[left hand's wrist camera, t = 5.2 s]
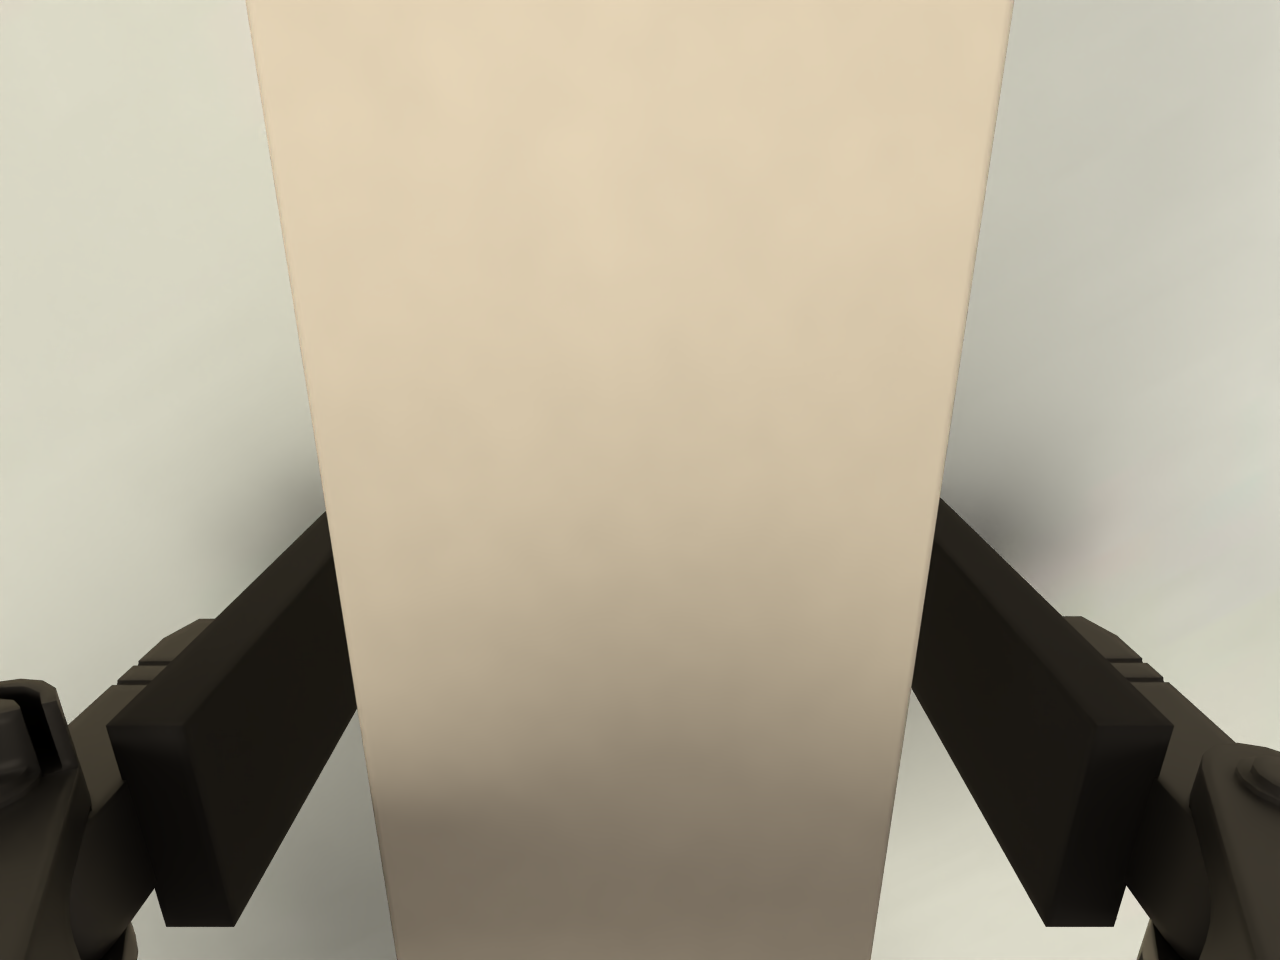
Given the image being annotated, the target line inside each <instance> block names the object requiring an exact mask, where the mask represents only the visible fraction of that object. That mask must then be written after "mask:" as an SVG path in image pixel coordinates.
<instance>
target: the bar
mask: <svg viewBox="0 0 1280 960" xmlns="http://www.w3.org/2000/svg"><path fill="white" fill-rule="evenodd" d="M1013 5H1014V0H246V6H247V13H248V19H249V25H250V32H251V38H252V44H253V51H254V57H255V63H256V70H257V76H258V82H259V89H260V95H261V101H262V107H263V114H264V120H265V126H266V133H267V139H268V145H269V152H270V158H271V164H272V171H273V177H274V183H275V190H276V196H277V202H278V209H279V215H280V221H281V228H282V234H283V240H284V247H285V253H286V259H287V266H288V272H289V278H290V285H291V291H292V297H293V304H294V310H295V316H296V323H297V329H298V335H299V342H300V348H301V354H302V361H303V367H304V373H305V380H306V386H307V392H308V399H309V405H310V411H311V418H312V424H313V430H314V437H315V443H316V449H317V456H318V462H319V468H320V475H321V481H322V487H323V494H324V500H325V506H326V513H327V519H328V525H329V532H330V538H331V544H332V551H333V557H334V563H335V570H336V576H337V582H338V589H339V595H340V601H341V608H342V614H343V620H344V627H345V633H346V639H347V646H348V652H349V658H350V665H351V671H352V677H353V684H354V690H355V696H356V703H357V709H358V715H359V722H360V728H361V734H362V741H363V747H364V753H365V760H366V766H367V772H368V779H369V785H370V791H371V798H372V804H373V810H374V817H375V823H376V829H377V836H378V842H379V848H380V855H381V861H382V867H383V874H384V880H385V886H386V892H387V899H388V905H389V911H390V918H391V924H392V930H393V937H394V943H395V949H396V956H397V960H870V959H871V953H872V946H873V939H874V933H875V926H876V919H877V913H878V906H879V899H880V893H881V886H882V879H883V873H884V866H885V859H886V852H887V846H888V839H889V832H890V826H891V819H892V812H893V806H894V799H895V792H896V786H897V779H898V772H899V766H900V759H901V752H902V746H903V739H904V732H905V726H906V719H907V712H908V706H909V699H910V692H911V686H912V679H913V672H914V666H915V659H916V652H917V646H918V639H919V632H920V625H921V619H922V612H923V605H924V599H925V592H926V585H927V579H928V572H929V565H930V559H931V552H932V545H933V539H934V532H935V525H936V519H937V512H938V505H939V499H940V492H941V485H942V479H943V472H944V465H945V459H946V452H947V445H948V439H949V432H950V425H951V419H952V412H953V405H954V399H955V392H956V385H957V378H958V372H959V365H960V358H961V352H962V345H963V338H964V332H965V325H966V318H967V312H968V305H969V298H970V292H971V285H972V278H973V272H974V265H975V258H976V252H977V245H978V238H979V232H980V225H981V218H982V212H983V205H984V198H985V192H986V185H987V178H988V172H989V165H990V158H991V152H992V145H993V138H994V131H995V125H996V118H997V111H998V105H999V98H1000V91H1001V85H1002V78H1003V71H1004V65H1005V58H1006V51H1007V45H1008V38H1009V31H1010V25H1011V18H1012V11H1013Z"/></svg>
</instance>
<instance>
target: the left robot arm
mask: <svg viewBox="0 0 1280 960" xmlns="http://www.w3.org/2000/svg"><path fill="white" fill-rule="evenodd" d="M911 688H912V690H913V692H914V693H915V695H916V697H917V699H918V700H919V702H920V704H921V706H922V708H923V709H924V711H925V713H926V715H927V716H928V718H929V720H930V722H931V724H932V725H933V727H934V729H935V731H936V732H937V734H938V736H939V738H940V740H941V741H942V743H943V745H944V747H945V748H946V750H947V752H948V754H949V756H950V757H951V759H952V761H953V763H954V764H955V766H956V768H957V770H958V772H959V773H960V775H961V777H962V779H963V780H964V782H965V784H966V786H967V788H968V789H969V791H970V793H971V795H972V796H973V798H974V800H975V802H976V804H977V805H978V807H979V809H980V811H981V812H982V814H983V816H984V818H985V820H986V821H987V823H988V825H989V827H990V828H991V830H992V832H993V834H994V836H995V837H996V839H997V841H998V843H999V844H1000V846H1001V848H1002V850H1003V852H1004V853H1005V855H1006V857H1007V859H1008V860H1009V862H1010V864H1011V866H1012V867H1013V869H1014V871H1015V873H1016V875H1017V876H1018V878H1019V880H1020V882H1021V883H1022V885H1023V887H1024V889H1025V891H1026V892H1027V894H1028V896H1029V898H1030V899H1031V901H1032V903H1033V905H1034V907H1035V908H1036V910H1037V912H1038V914H1039V915H1040V917H1041V919H1042V921H1043V923H1044V924H1045V926H1046V927H1114V924H1115V921H1116V918H1117V914H1118V911H1119V908H1120V904H1121V901H1122V898H1123V894H1124V891H1125V888H1126V885H1127V887H1128V888H1129V890H1130V891H1131V892H1132V894H1133V895H1134V897H1135V898H1136V899H1137V901H1138V902H1139V904H1140V905H1141V906H1142V908H1143V909H1144V911H1145V912H1146V913H1147V915H1148V916H1149V918H1150V920H1149V923H1148V926H1147V929H1146V932H1145V935H1144V938H1143V941H1142V945H1141V948H1140V951H1139V954H1138V957H1137V960H1280V752H1279V751H1276V750H1273V749H1270V748H1267V747H1261V746H1255V745H1248V744H1242V743H1235V742H1234V741H1233V740H1232V739H1231V738H1230V737H1229V736H1228V735H1227V734H1225V733H1224V732H1223V731H1222V730H1221V729H1220V728H1219V727H1218V726H1217V725H1215V724H1214V723H1213V722H1212V721H1211V720H1210V719H1209V718H1208V717H1207V716H1205V715H1204V714H1203V713H1202V712H1201V711H1200V710H1199V709H1198V708H1197V707H1195V706H1194V705H1193V704H1192V703H1191V702H1190V701H1189V700H1188V699H1187V698H1185V697H1184V696H1183V695H1182V694H1181V693H1180V692H1179V691H1178V690H1177V689H1176V688H1174V687H1173V686H1172V685H1171V684H1170V683H1169V682H1164V681H1163V677H1162V676H1161V675H1160V674H1159V673H1158V672H1157V671H1156V670H1154V669H1153V668H1152V667H1151V666H1150V665H1149V664H1148V663H1143V662H1142V658H1141V657H1140V656H1139V655H1138V654H1137V653H1136V652H1134V651H1133V650H1132V649H1131V648H1130V647H1129V646H1128V645H1127V644H1126V643H1125V642H1123V641H1122V640H1121V639H1120V638H1119V637H1118V636H1117V635H1115V634H1113V633H1111V632H1109V631H1107V630H1106V629H1104V628H1102V627H1100V626H1098V625H1096V624H1094V623H1093V622H1091V621H1089V620H1087V619H1085V618H1083V617H1082V616H1061V615H1060V614H1059V613H1058V612H1057V611H1056V610H1055V609H1054V608H1053V607H1052V606H1051V605H1050V604H1049V603H1048V602H1047V601H1046V600H1045V599H1044V598H1043V597H1042V596H1041V595H1040V594H1039V593H1038V592H1037V591H1036V590H1035V589H1034V588H1033V587H1032V586H1031V585H1030V584H1029V583H1027V582H1026V581H1025V580H1024V579H1023V578H1022V577H1021V576H1020V575H1019V574H1018V573H1017V572H1016V571H1015V570H1014V569H1013V568H1012V567H1011V566H1010V565H1009V564H1008V563H1007V562H1006V561H1005V560H1004V559H1003V558H1002V557H1001V556H1000V555H999V554H998V553H997V552H996V551H995V550H994V549H993V548H992V547H990V546H989V545H988V544H987V543H986V542H985V541H984V540H983V539H982V538H981V537H980V536H979V535H978V534H977V533H976V532H975V531H974V530H973V529H972V528H971V527H970V526H969V525H968V524H967V523H966V522H965V521H964V520H963V519H962V518H961V517H960V516H959V515H958V514H957V513H956V512H955V511H953V510H952V509H951V508H950V507H949V506H948V505H947V504H946V503H945V502H944V501H943V500H942V499H941V498H940V499H939V505H938V512H937V519H936V525H935V532H934V539H933V545H932V552H931V559H930V565H929V572H928V579H927V585H926V592H925V599H924V605H923V612H922V619H921V625H920V632H919V639H918V646H917V652H916V659H915V666H914V672H913V679H912V686H911ZM356 709H357V703H356V696H355V690H354V684H353V677H352V671H351V665H350V658H349V652H348V646H347V639H346V633H345V627H344V620H343V614H342V608H341V601H340V595H339V589H338V582H337V576H336V570H335V563H334V557H333V551H332V544H331V538H330V532H329V525H328V519H327V513H326V511H325V512H324V513H323V514H322V515H321V516H320V517H319V518H318V519H317V520H316V521H315V522H314V523H313V524H312V525H311V526H310V527H309V528H308V529H307V530H306V531H305V532H304V533H303V534H302V535H301V536H300V537H299V538H298V539H297V540H296V541H295V542H294V543H293V544H292V545H291V546H290V547H288V548H287V549H286V550H285V551H284V552H283V553H282V554H281V555H280V556H279V557H278V558H277V559H276V560H275V561H274V562H273V563H272V564H271V565H270V566H269V567H268V568H267V569H266V570H265V571H264V572H263V573H262V574H261V575H260V576H259V577H258V578H257V579H256V580H255V581H254V582H253V583H251V584H250V585H249V586H248V587H247V588H246V589H245V590H244V591H243V592H242V593H241V594H240V595H239V596H238V597H237V598H236V599H235V600H234V601H233V602H232V603H231V604H230V605H229V606H228V607H227V608H226V609H225V610H224V611H223V612H222V613H221V614H220V615H219V616H218V617H217V618H216V619H198V620H196V621H194V622H193V623H191V624H189V625H187V626H185V627H183V628H182V629H180V630H178V631H176V632H174V633H172V634H171V635H169V636H167V637H165V638H163V639H162V640H161V641H160V642H159V643H158V644H157V645H156V646H155V647H154V648H152V649H151V650H150V651H149V652H148V653H147V654H146V655H145V656H144V657H143V658H141V659H140V660H139V664H138V666H133V667H132V668H130V669H129V670H128V671H127V672H126V673H125V674H124V675H123V676H122V677H121V678H119V679H118V683H117V685H112V686H111V687H109V688H108V689H107V690H106V691H105V692H104V693H103V694H102V695H101V696H100V697H98V698H97V699H96V700H95V701H94V702H93V703H92V704H91V705H90V706H89V707H87V708H86V709H85V710H84V711H83V712H82V713H81V714H80V715H79V716H78V717H76V718H75V719H74V720H73V721H72V722H71V723H70V724H69V725H67V722H66V719H65V716H64V713H63V709H62V706H61V703H60V700H59V697H58V694H57V691H56V688H55V687H53V686H51V685H50V684H48V683H46V682H44V681H42V680H29V679H15V680H8V681H1V682H0V960H137V957H138V947H137V941H136V935H135V932H134V929H133V926H132V923H131V920H132V919H133V918H134V916H135V915H136V913H137V912H138V911H139V909H140V908H141V906H142V905H143V904H144V902H145V901H146V899H147V898H148V896H149V895H150V894H151V892H152V891H153V889H154V888H155V891H156V894H157V898H158V901H159V904H160V908H161V911H162V914H163V918H164V921H165V924H166V927H234V926H235V924H236V923H237V921H238V919H239V917H240V915H241V914H242V912H243V910H244V908H245V907H246V905H247V903H248V901H249V899H250V898H251V896H252V894H253V892H254V891H255V889H256V887H257V885H258V883H259V882H260V880H261V878H262V876H263V875H264V873H265V871H266V869H267V867H268V866H269V864H270V862H271V860H272V859H273V857H274V855H275V853H276V851H277V850H278V848H279V846H280V844H281V843H282V841H283V839H284V837H285V835H286V834H287V832H288V830H289V828H290V827H291V825H292V823H293V821H294V819H295V818H296V816H297V814H298V812H299V811H300V809H301V807H302V805H303V803H304V802H305V800H306V798H307V796H308V795H309V793H310V791H311V789H312V787H313V786H314V784H315V782H316V780H317V779H318V777H319V775H320V773H321V771H322V770H323V768H324V766H325V764H326V763H327V761H328V759H329V757H330V756H331V754H332V752H333V750H334V748H335V747H336V745H337V743H338V741H339V740H340V738H341V736H342V734H343V732H344V731H345V729H346V727H347V725H348V724H349V722H350V720H351V718H352V716H353V715H354V713H355V711H356Z"/></svg>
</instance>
